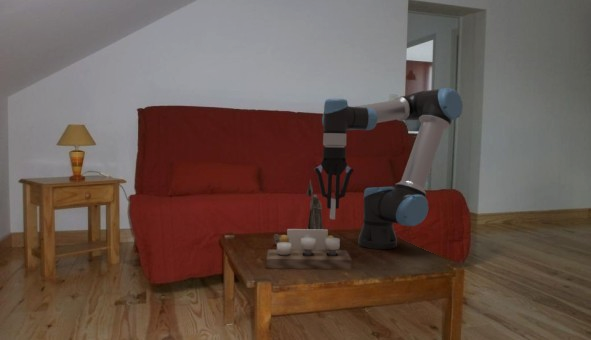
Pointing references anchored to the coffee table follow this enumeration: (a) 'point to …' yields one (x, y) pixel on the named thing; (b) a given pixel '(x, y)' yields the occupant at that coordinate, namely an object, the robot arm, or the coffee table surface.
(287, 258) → the board
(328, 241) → the button
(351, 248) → the coffee table surface
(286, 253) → the button
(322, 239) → the card
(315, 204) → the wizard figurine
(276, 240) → the stone
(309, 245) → the button
